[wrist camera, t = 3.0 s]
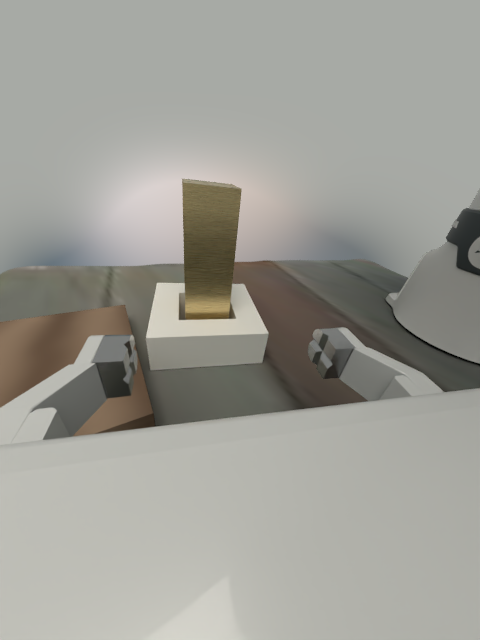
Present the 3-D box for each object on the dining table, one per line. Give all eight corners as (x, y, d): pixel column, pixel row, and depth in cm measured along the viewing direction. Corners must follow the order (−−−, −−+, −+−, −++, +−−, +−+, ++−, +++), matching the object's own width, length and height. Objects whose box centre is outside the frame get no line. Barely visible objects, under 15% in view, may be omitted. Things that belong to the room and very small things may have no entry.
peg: (220, 322, 27) (231, 184, 19) (226, 344, 24) (241, 188, 16) (185, 323, 26) (182, 178, 18) (186, 346, 23) (182, 182, 15)
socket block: (240, 308, 30) (243, 284, 28) (262, 363, 22) (268, 333, 20) (159, 309, 28) (157, 282, 26) (150, 370, 20) (146, 338, 18)
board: (127, 320, 25) (124, 304, 24) (156, 431, 15) (153, 413, 14) (-10, 343, 20) (-22, 325, 19) (-99, 530, 10) (-133, 513, 9)
